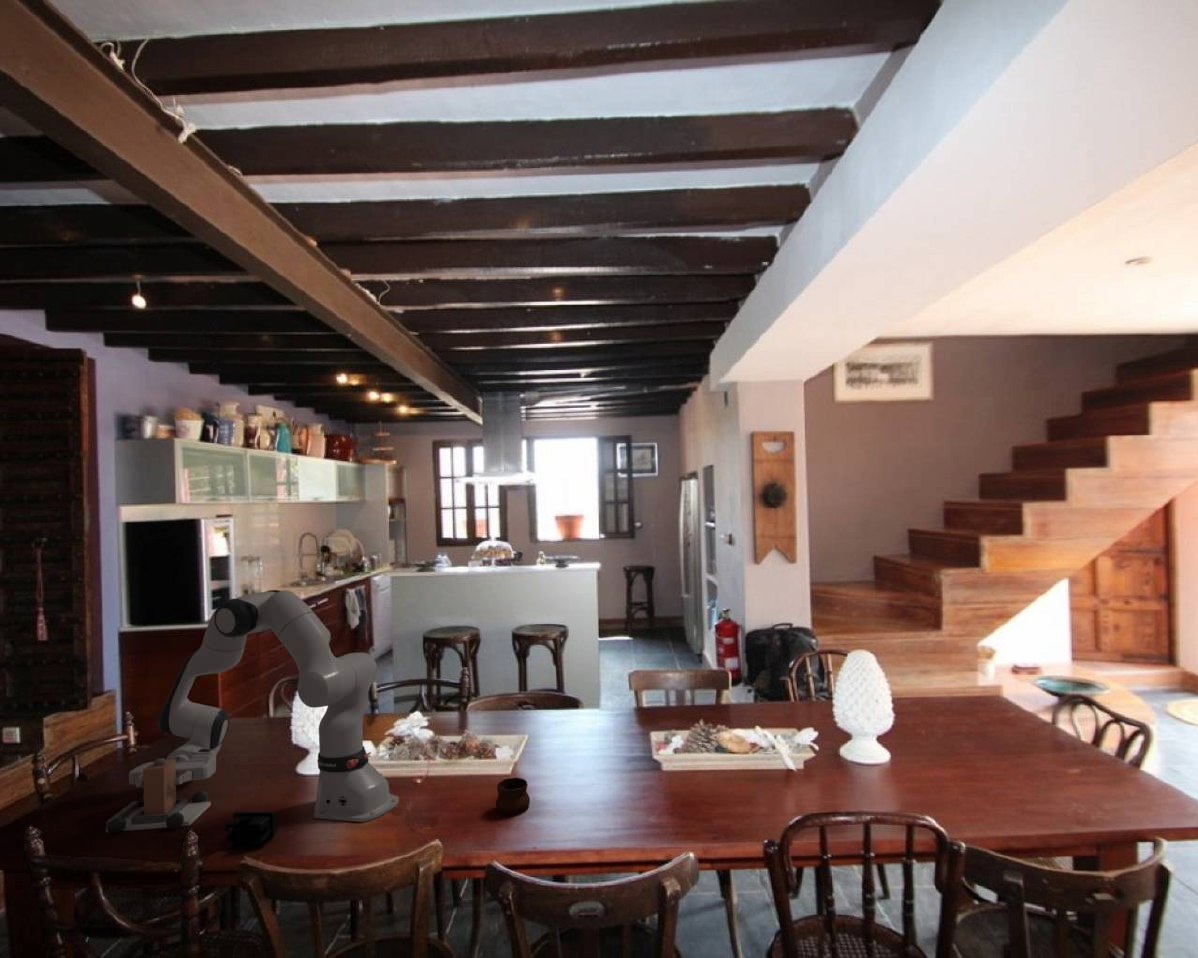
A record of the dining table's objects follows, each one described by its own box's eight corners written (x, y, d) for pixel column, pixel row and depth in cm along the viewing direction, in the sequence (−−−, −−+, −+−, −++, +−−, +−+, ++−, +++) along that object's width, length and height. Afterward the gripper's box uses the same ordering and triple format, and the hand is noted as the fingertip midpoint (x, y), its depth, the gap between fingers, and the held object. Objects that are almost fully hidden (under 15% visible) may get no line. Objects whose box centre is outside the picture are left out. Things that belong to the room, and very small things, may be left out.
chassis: (213, 802, 192) (212, 789, 192) (186, 828, 176) (185, 814, 177) (136, 808, 190) (136, 795, 190) (102, 835, 174) (101, 820, 174)
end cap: (279, 834, 171) (279, 807, 171) (263, 849, 164) (262, 820, 164) (241, 834, 172) (240, 807, 172) (223, 849, 165) (222, 820, 165)
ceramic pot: (470, 804, 185) (469, 777, 185) (532, 790, 192) (532, 764, 193) (490, 833, 168) (490, 804, 168) (558, 817, 176) (557, 789, 176)
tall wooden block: (164, 818, 180) (163, 763, 181) (144, 820, 180) (143, 764, 180) (176, 808, 186) (175, 754, 187) (156, 809, 186) (155, 756, 186)
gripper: (144, 754, 195) (115, 774, 181) (220, 749, 197) (197, 768, 183) (145, 777, 195) (115, 798, 181) (221, 771, 197) (198, 792, 183)
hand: (157, 783), depth 182 cm, fingers open, 8 cm apart
